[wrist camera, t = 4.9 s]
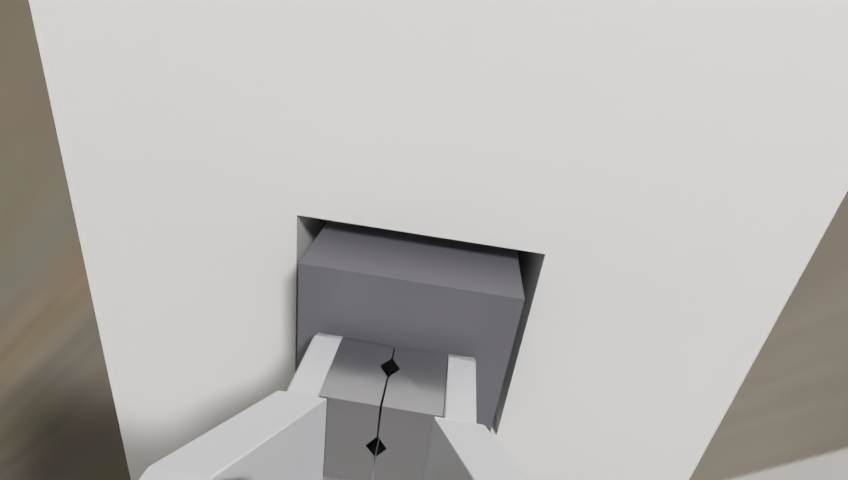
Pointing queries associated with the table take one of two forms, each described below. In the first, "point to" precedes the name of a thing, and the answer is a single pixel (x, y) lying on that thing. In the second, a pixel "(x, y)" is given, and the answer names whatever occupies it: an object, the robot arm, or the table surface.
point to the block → (454, 194)
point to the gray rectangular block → (414, 298)
